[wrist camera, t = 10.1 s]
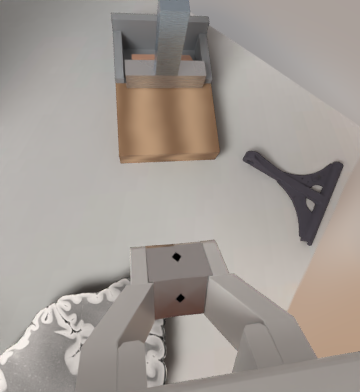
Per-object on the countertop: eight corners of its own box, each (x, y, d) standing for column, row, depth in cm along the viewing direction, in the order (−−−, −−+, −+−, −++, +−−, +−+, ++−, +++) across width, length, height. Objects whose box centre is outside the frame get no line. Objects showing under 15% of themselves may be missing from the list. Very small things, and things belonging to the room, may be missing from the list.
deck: (120, 163, 40) (119, 155, 37) (117, 95, 42) (115, 83, 39) (214, 159, 42) (219, 151, 39) (206, 94, 44) (210, 83, 41)
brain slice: (59, 481, 31) (51, 503, 28) (-13, 347, 33) (-28, 355, 30) (199, 364, 35) (204, 373, 33) (128, 253, 37) (127, 252, 35)
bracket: (260, 123, 45) (268, 115, 43) (338, 168, 45) (351, 163, 43) (221, 196, 42) (227, 192, 39) (306, 245, 42) (318, 245, 39)
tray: (117, 95, 42) (113, 69, 36) (115, 45, 44) (111, 12, 38) (206, 94, 44) (215, 70, 38) (200, 47, 46) (208, 16, 40)
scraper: (126, 88, 39) (119, 8, 27) (125, 73, 40) (118, -12, 27) (201, 88, 41) (228, 13, 28) (200, 73, 41) (225, -6, 29)
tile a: (133, 78, 40) (132, 64, 39) (132, 67, 43) (131, 54, 42) (160, 78, 41) (160, 64, 39) (157, 67, 44) (157, 54, 42)
